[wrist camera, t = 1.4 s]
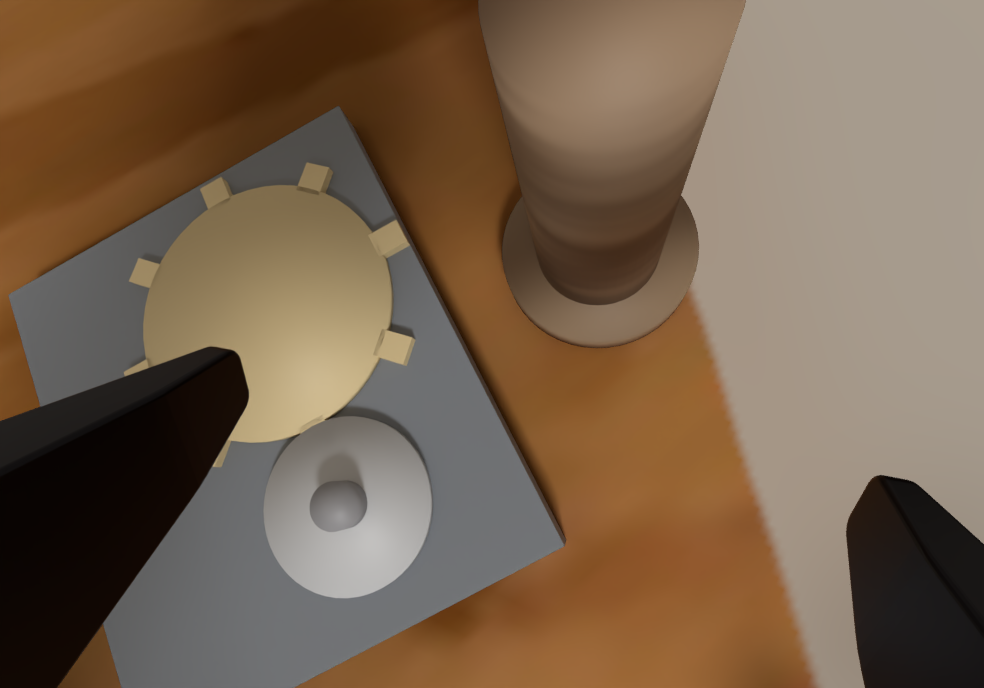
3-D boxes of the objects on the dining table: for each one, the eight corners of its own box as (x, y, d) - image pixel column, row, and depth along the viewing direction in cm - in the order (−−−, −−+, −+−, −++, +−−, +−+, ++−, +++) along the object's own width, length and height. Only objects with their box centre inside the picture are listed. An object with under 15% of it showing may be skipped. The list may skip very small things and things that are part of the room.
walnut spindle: (730, 290, 21) (936, 32, 9) (560, 381, 22) (520, 261, 9) (631, 142, 23) (683, -248, 10) (476, 228, 23) (343, -50, 11)
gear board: (566, 540, 20) (562, 552, 18) (174, 745, 21) (110, 788, 18) (353, 126, 25) (323, 83, 22) (40, 304, 26) (-26, 284, 23)
